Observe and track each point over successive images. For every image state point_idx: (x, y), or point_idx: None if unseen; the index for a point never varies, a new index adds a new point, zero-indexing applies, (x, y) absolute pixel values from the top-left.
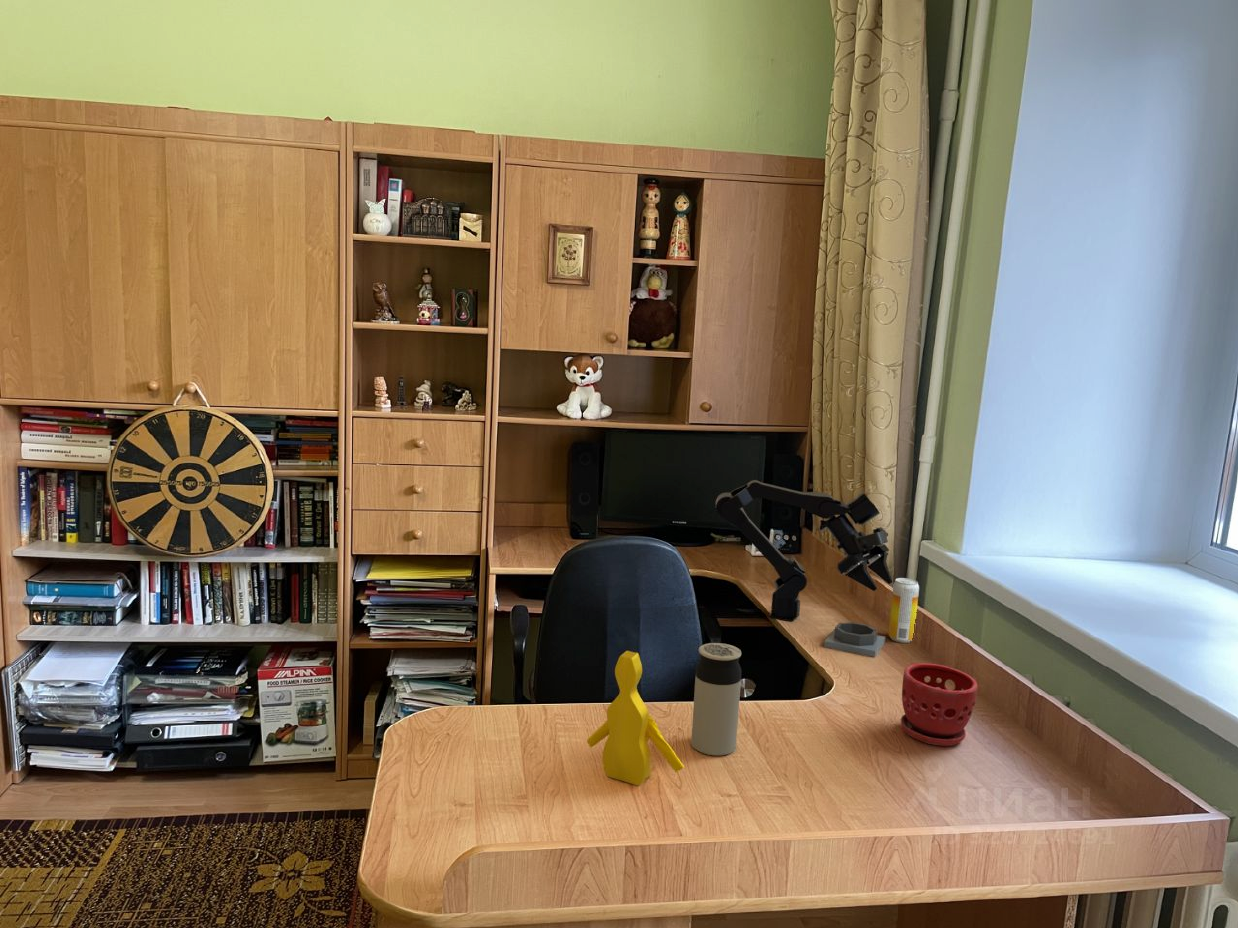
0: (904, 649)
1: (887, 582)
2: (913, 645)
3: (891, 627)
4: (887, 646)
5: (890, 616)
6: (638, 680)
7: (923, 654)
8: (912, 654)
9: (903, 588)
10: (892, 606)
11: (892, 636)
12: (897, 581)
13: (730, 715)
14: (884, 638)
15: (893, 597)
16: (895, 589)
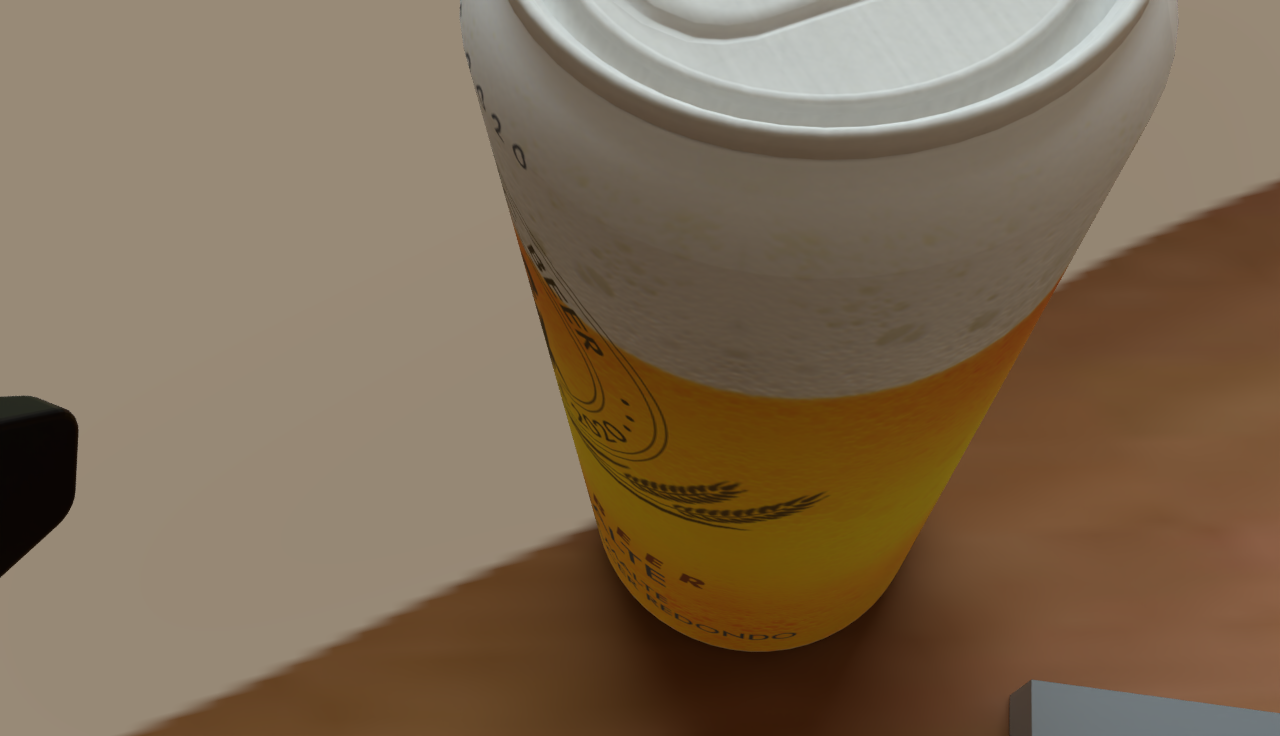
0: (1120, 452)
1: (22, 551)
2: None
3: (875, 584)
4: (1144, 653)
5: (825, 573)
6: None
7: (1154, 264)
8: (1239, 365)
9: (1175, 17)
10: (901, 487)
11: (885, 590)
12: (1066, 72)
13: None
14: (1089, 689)
15: (942, 403)
16: (1039, 261)
